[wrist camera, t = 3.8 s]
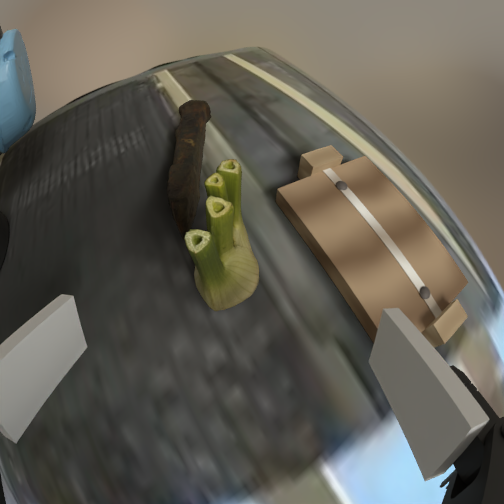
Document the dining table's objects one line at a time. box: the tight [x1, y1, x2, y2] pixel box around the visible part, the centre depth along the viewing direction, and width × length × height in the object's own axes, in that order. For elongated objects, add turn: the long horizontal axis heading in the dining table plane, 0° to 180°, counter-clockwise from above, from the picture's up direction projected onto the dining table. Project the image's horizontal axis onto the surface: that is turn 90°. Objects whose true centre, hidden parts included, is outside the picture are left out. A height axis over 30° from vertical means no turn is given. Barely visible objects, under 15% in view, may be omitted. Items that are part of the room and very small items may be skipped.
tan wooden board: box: [276, 145, 468, 347], centre depth 24 cm, size 22×12×3 cm, turn 29°
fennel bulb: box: [184, 159, 259, 311], centre depth 18 cm, size 6×5×12 cm
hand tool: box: [167, 100, 211, 239], centre depth 28 cm, size 19×4×5 cm, turn 1°
